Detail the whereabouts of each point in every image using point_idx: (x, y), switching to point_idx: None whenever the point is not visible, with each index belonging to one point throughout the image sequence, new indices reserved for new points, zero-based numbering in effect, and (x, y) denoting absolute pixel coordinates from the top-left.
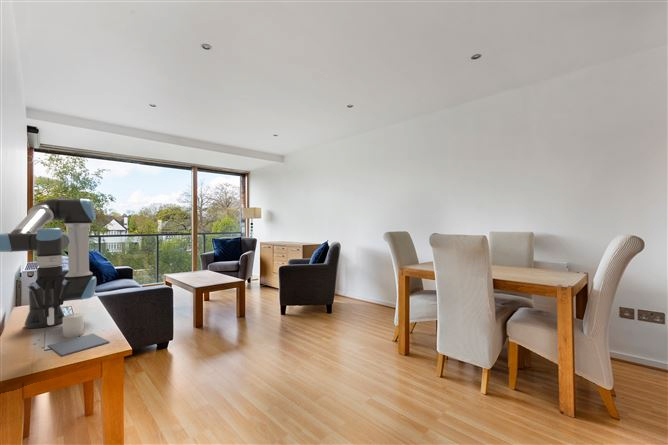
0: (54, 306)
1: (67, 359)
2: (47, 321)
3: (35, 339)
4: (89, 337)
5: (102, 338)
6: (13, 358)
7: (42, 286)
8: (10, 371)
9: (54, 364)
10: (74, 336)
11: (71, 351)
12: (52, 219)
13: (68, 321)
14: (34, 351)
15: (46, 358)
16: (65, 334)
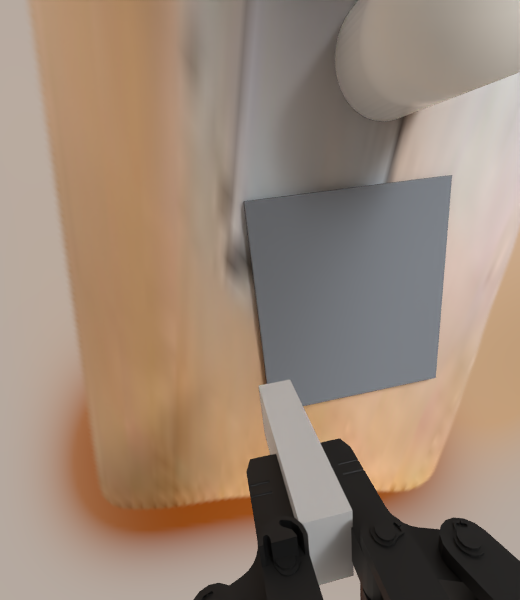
0: (370, 593)
1: None
2: (263, 407)
3: None
4: (413, 243)
5: (438, 314)
6: (101, 278)
7: None
8: (108, 445)
9: (238, 473)
10: (379, 120)
11: (305, 399)
12: None
13: (423, 68)
14: (185, 238)
15: (222, 390)
16: (351, 83)
